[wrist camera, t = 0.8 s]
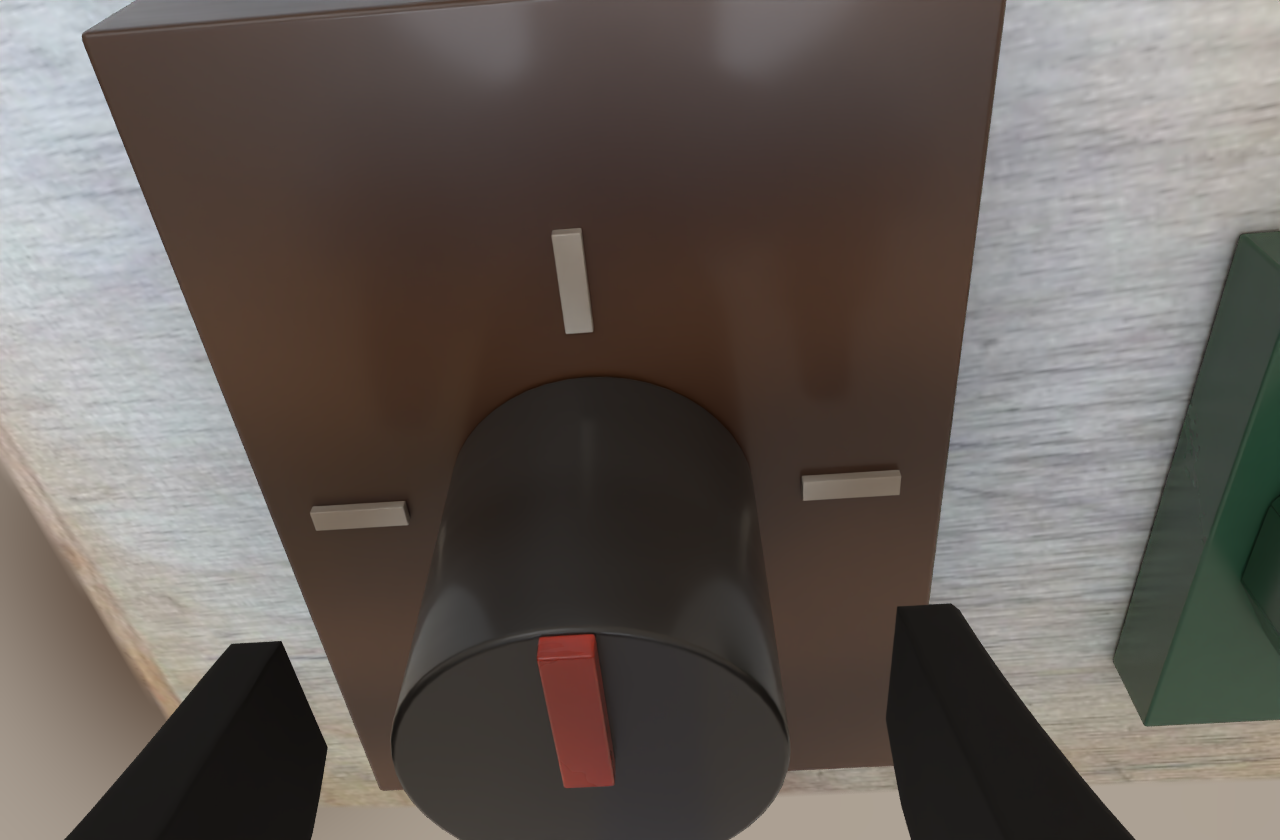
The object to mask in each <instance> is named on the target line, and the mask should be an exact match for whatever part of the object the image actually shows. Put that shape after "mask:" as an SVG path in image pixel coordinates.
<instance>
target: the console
mask: <svg viewBox="0 0 1280 840" xmlns="http://www.w3.org/2000/svg"><path fill="white" fill-rule="evenodd" d="M1005 7H1006V0H136V1H134V2H132V3H131V4H129V5H128V6H126V7H124V8H123V9H121V10H119V11H118V12H116V13H114V14H113V15H111V16H110V17H108V18H106V19H105V20H103V21H101V22H100V23H98V24H97V25H95V26H93V27H92V28H90V29H88V30H87V31H85V32H84V33H83V34H82V41H83V43H84V46H85V49H86V51H87V54H88V56H89V59H90V61H91V64H92V66H93V69H94V71H95V74H96V76H97V79H98V81H99V84H100V86H101V89H102V91H103V94H104V96H105V99H106V101H107V104H108V106H109V109H110V111H111V114H112V116H113V119H114V121H115V124H116V127H117V129H118V132H119V134H120V137H121V139H122V142H123V144H124V147H125V149H126V152H127V154H128V157H129V159H130V162H131V164H132V167H133V169H134V172H135V174H136V177H137V179H138V182H139V184H140V187H141V189H142V192H143V194H144V197H145V199H146V202H147V205H148V207H149V210H150V212H151V215H152V217H153V220H154V222H155V225H156V227H157V230H158V232H159V235H160V237H161V240H162V242H163V245H164V247H165V250H166V252H167V255H168V257H169V260H170V262H171V265H172V267H173V270H174V272H175V275H176V277H177V280H178V283H179V285H180V288H181V290H182V293H183V295H184V298H185V300H186V303H187V305H188V308H189V310H190V313H191V315H192V318H193V320H194V323H195V325H196V328H197V330H198V333H199V335H200V338H201V340H202V343H203V345H204V348H205V350H206V353H207V355H208V358H209V361H210V363H211V366H212V368H213V371H214V373H215V376H216V378H217V381H218V383H219V386H220V388H221V391H222V393H223V396H224V398H225V401H226V403H227V406H228V408H229V411H230V413H231V416H232V418H233V421H234V423H235V426H236V428H237V431H238V433H239V436H240V439H241V441H242V444H243V446H244V449H245V451H246V454H247V456H248V459H249V461H250V464H251V466H252V469H253V471H254V474H255V476H256V479H257V481H258V484H259V486H260V489H261V491H262V494H263V496H264V499H265V501H266V504H267V506H268V509H269V511H270V514H271V517H272V519H273V522H274V524H275V527H276V529H277V532H278V534H279V537H280V539H281V542H282V544H283V547H284V549H285V552H286V554H287V557H288V559H289V562H290V564H291V567H292V569H293V572H294V574H295V577H296V579H297V582H298V584H299V587H300V589H301V592H302V595H303V597H304V600H305V602H306V605H307V607H308V610H309V612H310V615H311V617H312V620H313V622H314V625H315V627H316V630H317V632H318V635H319V637H320V640H321V642H322V645H323V647H324V650H325V652H326V655H327V657H328V660H329V662H330V665H331V667H332V670H333V673H334V675H335V678H336V680H337V683H338V685H339V688H340V690H341V693H342V695H343V698H344V700H345V703H346V705H347V708H348V710H349V713H350V715H351V718H352V720H353V723H354V725H355V728H356V730H357V733H358V735H359V738H360V740H361V743H362V746H363V748H364V751H365V753H366V756H367V758H368V761H369V763H370V766H371V768H372V771H373V773H374V776H375V778H376V781H377V783H378V786H379V788H380V789H381V790H383V791H388V790H404V789H403V787H402V785H401V783H400V781H399V779H398V777H397V775H396V771H395V768H394V764H393V760H392V756H391V743H390V737H391V731H392V725H393V720H394V716H395V711H396V707H397V703H398V699H399V695H400V690H401V686H402V682H403V678H404V674H405V670H406V665H407V661H408V657H409V653H410V649H411V644H412V640H413V636H414V632H415V628H416V624H417V619H418V615H419V611H420V607H421V603H422V598H423V594H424V590H425V586H426V582H427V577H428V573H429V569H430V565H431V561H432V557H433V552H434V548H435V544H436V540H437V536H438V531H439V527H440V523H441V519H442V515H443V510H444V506H445V502H446V498H447V494H448V490H449V485H450V481H451V477H452V473H453V469H454V465H455V463H456V460H457V457H458V455H459V452H460V450H461V448H462V447H463V445H464V443H465V441H466V440H467V438H468V437H469V435H470V434H471V433H472V432H473V430H474V429H475V428H476V427H477V425H478V424H479V423H480V422H482V421H483V420H484V419H485V418H486V417H487V416H488V415H489V414H490V413H491V412H493V411H494V410H495V409H497V408H498V407H500V406H501V405H503V404H504V403H505V402H507V401H508V400H510V399H512V398H514V397H516V396H518V395H520V394H522V393H524V392H526V391H528V390H531V389H534V388H536V387H539V386H542V385H545V384H549V383H553V382H557V381H561V380H565V379H574V378H582V377H616V378H626V379H632V380H637V381H642V382H647V383H651V384H654V385H657V386H660V387H663V388H666V389H669V390H671V391H673V392H675V393H678V394H680V395H682V396H684V397H686V398H688V399H690V400H691V401H693V402H694V403H696V404H698V405H699V406H701V407H702V408H704V409H705V410H706V411H708V412H709V413H710V414H711V415H712V416H714V417H715V418H716V419H717V420H718V421H719V422H720V423H721V424H722V425H723V426H724V427H725V428H726V429H727V430H728V431H729V432H730V433H731V435H732V436H733V437H734V439H735V440H736V442H737V443H738V445H739V446H740V448H741V449H742V452H743V454H744V456H745V458H746V460H747V462H748V465H749V468H750V472H751V476H752V480H753V487H754V493H755V500H756V507H757V514H758V521H759V528H760V535H761V542H762V549H763V556H764V563H765V570H766V577H767V583H768V590H769V597H770V604H771V611H772V618H773V625H774V632H775V639H776V646H777V653H778V660H779V667H780V673H781V680H782V687H783V694H784V701H785V708H786V715H787V722H788V729H789V737H790V747H791V753H790V761H789V767H788V770H787V771H796V770H816V769H837V768H857V767H878V766H894V764H893V758H892V753H891V747H890V741H889V736H888V730H887V724H886V710H887V701H888V691H889V681H890V672H891V662H892V652H893V642H894V633H895V623H896V613H897V606H915V605H929V599H930V591H931V583H932V575H933V567H934V560H935V552H936V544H937V536H938V529H939V521H940V513H941V505H942V497H943V490H944V482H945V474H946V466H947V459H948V451H949V443H950V435H951V427H952V420H953V412H954V404H955V396H956V388H957V381H958V373H959V365H960V357H961V350H962V342H963V334H964V326H965V318H966V311H967V303H968V295H969V287H970V279H971V272H972V264H973V256H974V248H975V241H976V233H977V225H978V217H979V209H980V202H981V194H982V186H983V178H984V170H985V163H986V155H987V147H988V139H989V132H990V124H991V116H992V108H993V100H994V93H995V85H996V77H997V69H998V61H999V54H1000V46H1001V38H1002V30H1003V23H1004V15H1005Z"/></svg>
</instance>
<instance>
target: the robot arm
mask: <svg viewBox="0 0 1280 840" xmlns="http://www.w3.org/2000/svg"><path fill="white" fill-rule="evenodd" d="M886 724H887V730H888V736H889V741H890V747H891V753H892V758H893V764H894V770H895V775H896V780H897V785H898V791H899V796H900V801H901V806H902V810H903V813H904V816H905V820H906V824H907V827H908V830H909V834H910V837H911V840H1135V839H1134V838H1133V836H1132V835H1131V834H1130V833H1129V832H1128V831H1127V830H1126V828H1125V827H1124V826H1123V825H1122V824H1121V823H1120V822H1119V820H1117V818H1116V817H1115V816H1114V815H1113V814H1112V812H1111V811H1110V810H1109V809H1108V808H1107V807H1106V806H1105V804H1103V802H1102V801H1101V800H1100V798H1099V797H1098V796H1097V795H1096V794H1095V793H1094V791H1093V790H1092V789H1091V788H1090V787H1089V785H1088V784H1087V783H1086V782H1085V781H1084V779H1083V778H1082V777H1081V776H1080V775H1079V773H1078V772H1077V771H1076V770H1075V768H1074V767H1073V766H1072V765H1071V763H1070V762H1069V761H1068V760H1067V758H1066V757H1065V756H1064V754H1063V753H1062V752H1061V751H1060V749H1059V748H1058V747H1057V746H1056V744H1055V743H1054V742H1053V741H1052V739H1051V738H1050V737H1049V736H1048V734H1047V733H1046V732H1045V731H1044V729H1043V728H1042V727H1041V726H1040V724H1039V723H1038V722H1037V720H1036V719H1035V718H1034V716H1033V715H1032V714H1031V712H1030V711H1029V710H1028V708H1027V707H1026V706H1025V704H1024V703H1023V702H1022V700H1021V699H1020V698H1019V696H1018V695H1017V693H1016V692H1015V691H1014V689H1013V688H1012V687H1011V685H1010V684H1009V682H1008V681H1007V680H1006V678H1005V677H1004V676H1003V674H1002V673H1001V671H1000V670H999V669H998V667H997V666H996V664H995V663H994V661H993V660H992V659H991V657H990V656H989V654H988V653H987V651H986V650H985V648H984V647H983V645H982V644H981V642H980V641H979V639H978V638H977V636H976V635H975V633H974V632H973V630H972V629H971V627H970V626H969V624H968V623H967V621H966V620H965V618H964V616H963V615H962V613H961V612H960V610H959V609H957V608H956V607H955V606H954V605H952V604H951V603H950V604H933V605H915V606H897V613H896V623H895V633H894V642H893V652H892V662H891V672H890V681H889V691H888V701H887V710H886ZM327 749H328V747H327V745H326V743H325V740H324V738H323V736H322V733H321V731H320V729H319V726H318V724H317V722H316V720H315V717H314V715H313V713H312V710H311V708H310V706H309V703H308V701H307V699H306V697H305V694H304V692H303V690H302V687H301V685H300V683H299V680H298V678H297V676H296V674H295V671H294V669H293V667H292V664H291V662H290V660H289V657H288V655H287V653H286V651H285V648H284V646H283V644H282V641H275V642H258V643H240V644H231V645H230V646H229V647H228V648H227V649H226V650H225V652H224V653H223V654H222V655H221V656H220V658H219V659H218V660H217V661H216V662H215V663H214V665H213V666H212V667H211V668H210V669H209V670H208V672H207V673H206V674H205V675H204V676H203V678H202V679H201V680H200V681H199V683H198V684H197V685H196V686H195V687H194V689H193V690H192V691H191V692H190V693H189V695H188V696H187V697H186V698H185V700H184V701H183V702H182V703H181V704H180V706H179V707H178V708H177V709H176V710H175V712H174V713H173V714H172V715H171V717H170V718H169V719H168V720H167V721H166V723H165V724H164V725H163V726H162V727H161V729H160V730H159V731H158V732H157V733H156V735H155V736H154V737H153V738H152V739H151V741H150V742H149V743H148V744H147V745H146V747H145V748H144V749H143V750H142V752H141V753H140V754H139V755H138V756H137V757H136V759H135V760H134V761H133V762H132V763H131V764H130V765H129V767H128V768H127V769H126V770H125V771H124V772H123V774H122V775H121V776H120V777H119V778H118V779H117V781H116V782H115V783H114V784H113V785H112V786H111V788H110V789H109V790H108V791H107V792H106V793H105V795H104V796H103V797H102V798H101V799H100V800H99V801H98V803H97V804H96V805H95V807H93V809H92V810H91V811H90V812H89V813H88V814H87V815H86V816H85V817H84V819H83V820H82V821H81V822H80V823H79V824H78V825H77V826H76V828H75V829H74V830H73V831H72V832H71V833H70V834H69V835H68V836H67V837H66V838H65V839H64V840H311V837H312V833H313V828H314V823H315V818H316V813H317V808H318V802H319V797H320V792H321V785H322V779H323V773H324V767H325V761H326V755H327Z"/></svg>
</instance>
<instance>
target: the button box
mask: <svg viewBox="0 0 1280 840" xmlns="http://www.w3.org/2000/svg"><path fill="white" fill-rule="evenodd" d="M1113 663H1114V665H1115V667H1116V669H1117V671H1118V673H1119V675H1120V677H1121V679H1122V681H1123V683H1124V685H1125V687H1126V689H1127V691H1128V693H1129V695H1130V698H1131V700H1132V702H1133V704H1134V706H1135V708H1136V710H1137V712H1138V714H1139V716H1140V718H1141V720H1142V722H1143V724H1144V725H1145V726H1167V725H1187V724H1207V723H1227V722H1246V721H1266V720H1280V231H1276V232H1262V233H1248V234H1242V235H1241V236H1240V237H1239V240H1238V244H1237V247H1236V250H1235V254H1234V257H1233V260H1232V264H1231V267H1230V270H1229V274H1228V277H1227V280H1226V284H1225V287H1224V290H1223V294H1222V297H1221V301H1220V304H1219V307H1218V311H1217V314H1216V317H1215V321H1214V324H1213V327H1212V331H1211V334H1210V337H1209V341H1208V344H1207V347H1206V351H1205V354H1204V357H1203V361H1202V364H1201V368H1200V371H1199V374H1198V378H1197V381H1196V384H1195V388H1194V391H1193V394H1192V398H1191V401H1190V404H1189V408H1188V411H1187V414H1186V418H1185V421H1184V425H1183V428H1182V431H1181V435H1180V438H1179V441H1178V445H1177V448H1176V451H1175V455H1174V458H1173V461H1172V465H1171V468H1170V471H1169V475H1168V478H1167V482H1166V485H1165V488H1164V492H1163V495H1162V498H1161V502H1160V505H1159V508H1158V512H1157V515H1156V518H1155V522H1154V525H1153V528H1152V532H1151V535H1150V538H1149V542H1148V545H1147V549H1146V552H1145V555H1144V559H1143V562H1142V565H1141V569H1140V572H1139V575H1138V579H1137V582H1136V585H1135V589H1134V592H1133V595H1132V599H1131V602H1130V606H1129V609H1128V612H1127V616H1126V619H1125V622H1124V626H1123V629H1122V632H1121V636H1120V639H1119V642H1118V646H1117V649H1116V652H1115V656H1114V659H1113Z"/></svg>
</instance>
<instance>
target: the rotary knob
mask: <svg viewBox="0 0 1280 840" xmlns="http://www.w3.org/2000/svg"><path fill="white" fill-rule="evenodd" d="M390 743H391V756H392V760H393V764H394V768H395V771H396V775H397V777H398V779H399V781H400V783H401V785H402V787H403V789H404V791H405V792H406V794H407V795H408V796H409V798H410V799H411V801H412V802H413V803H414V804H415V805H416V806H417V807H418V808H419V809H420V811H421V812H422V813H423V814H424V815H425V816H426V817H427V818H429V819H430V820H431V821H433V822H434V823H435V824H436V825H438V826H439V827H440V828H442V829H443V830H445V831H446V832H448V833H449V834H451V835H453V836H454V837H456V838H457V839H459V840H729V839H731V838H733V837H735V836H736V835H737V834H739V833H740V832H742V831H743V830H744V829H746V828H747V827H749V826H750V825H751V824H752V823H753V822H755V820H757V819H758V818H759V817H760V816H761V815H762V814H763V813H764V812H765V811H766V809H767V808H768V807H769V806H770V804H771V803H772V802H773V801H774V799H775V798H776V796H777V794H778V792H779V791H780V789H781V787H782V785H783V782H784V779H785V776H786V773H787V770H788V767H789V761H790V753H791V747H790V737H789V729H788V722H787V715H786V708H785V701H784V694H783V687H782V680H781V673H780V667H779V660H778V653H777V646H776V639H775V632H774V625H773V618H772V611H771V604H770V597H769V590H768V583H767V577H766V570H765V563H764V556H763V549H762V542H761V535H760V528H759V521H758V514H757V507H756V500H755V493H754V487H753V480H752V476H751V472H750V468H749V465H748V462H747V460H746V458H745V456H744V454H743V452H742V449H741V448H740V446H739V445H738V443H737V442H736V440H735V439H734V437H733V436H732V435H731V433H730V432H729V431H728V430H727V429H726V428H725V427H724V426H723V425H722V424H721V423H720V422H719V421H718V420H717V419H716V418H715V417H714V416H712V415H711V414H710V413H709V412H708V411H706V410H705V409H704V408H702V407H701V406H699V405H698V404H696V403H694V402H693V401H691V400H690V399H688V398H686V397H684V396H682V395H680V394H678V393H675V392H673V391H671V390H669V389H666V388H663V387H660V386H657V385H654V384H651V383H647V382H642V381H637V380H632V379H626V378H616V377H582V378H574V379H565V380H561V381H557V382H553V383H549V384H545V385H542V386H539V387H536V388H534V389H531V390H528V391H526V392H524V393H522V394H520V395H518V396H516V397H514V398H512V399H510V400H508V401H507V402H505V403H504V404H503V405H501V406H500V407H498V408H497V409H495V410H494V411H493V412H491V413H490V414H489V415H488V416H487V417H486V418H485V419H484V420H483V421H482V422H480V423H479V424H478V425H477V427H476V428H475V429H474V430H473V432H472V433H471V434H470V435H469V437H468V438H467V440H466V441H465V443H464V445H463V447H462V448H461V450H460V452H459V455H458V457H457V460H456V463H455V465H454V469H453V473H452V477H451V481H450V485H449V490H448V494H447V498H446V502H445V506H444V510H443V515H442V519H441V523H440V527H439V531H438V536H437V540H436V544H435V548H434V552H433V557H432V561H431V565H430V569H429V573H428V577H427V582H426V586H425V590H424V594H423V598H422V603H421V607H420V611H419V615H418V619H417V624H416V628H415V632H414V636H413V640H412V644H411V649H410V653H409V657H408V661H407V665H406V670H405V674H404V678H403V682H402V686H401V690H400V695H399V699H398V703H397V707H396V711H395V716H394V720H393V725H392V731H391V737H390Z"/></svg>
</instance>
